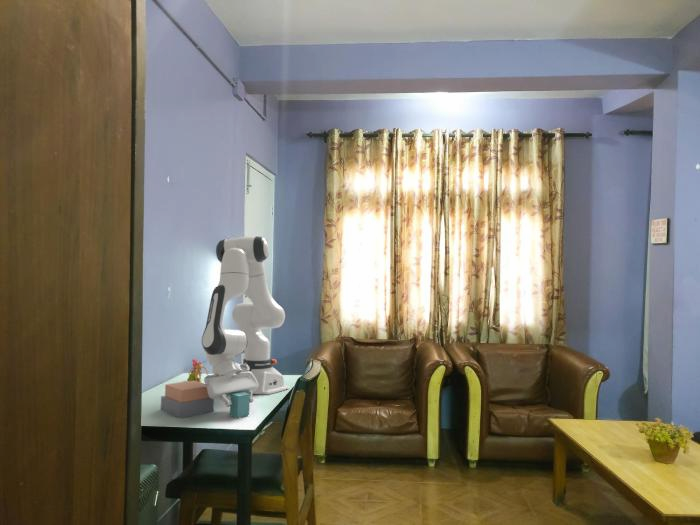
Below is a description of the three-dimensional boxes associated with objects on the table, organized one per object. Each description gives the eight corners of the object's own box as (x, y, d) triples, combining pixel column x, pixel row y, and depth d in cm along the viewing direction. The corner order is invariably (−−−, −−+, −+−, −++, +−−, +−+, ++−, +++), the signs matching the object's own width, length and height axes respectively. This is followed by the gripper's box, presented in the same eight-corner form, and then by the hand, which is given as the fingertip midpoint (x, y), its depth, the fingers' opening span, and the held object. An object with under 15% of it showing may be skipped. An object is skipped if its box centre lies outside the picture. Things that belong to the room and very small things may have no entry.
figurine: (186, 392, 225) (187, 364, 226) (189, 389, 231) (190, 362, 232) (206, 392, 226) (207, 365, 226) (208, 389, 232) (209, 362, 232)
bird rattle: (186, 385, 247) (187, 381, 240) (187, 362, 252) (187, 357, 244) (200, 385, 249) (201, 381, 242) (200, 362, 254) (201, 357, 246)
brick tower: (194, 403, 208) (195, 379, 208) (213, 411, 198) (214, 385, 198) (160, 409, 198) (161, 384, 198) (179, 417, 188) (180, 391, 188)
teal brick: (241, 413, 197) (241, 391, 197) (248, 415, 193) (249, 394, 194) (229, 415, 193) (230, 393, 193) (237, 418, 190) (238, 396, 190)
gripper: (205, 371, 191) (219, 403, 184) (252, 365, 206) (266, 394, 199) (199, 381, 194) (212, 413, 187) (245, 374, 209) (259, 404, 202)
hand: (240, 403), depth 193 cm, fingers open, 8 cm apart
